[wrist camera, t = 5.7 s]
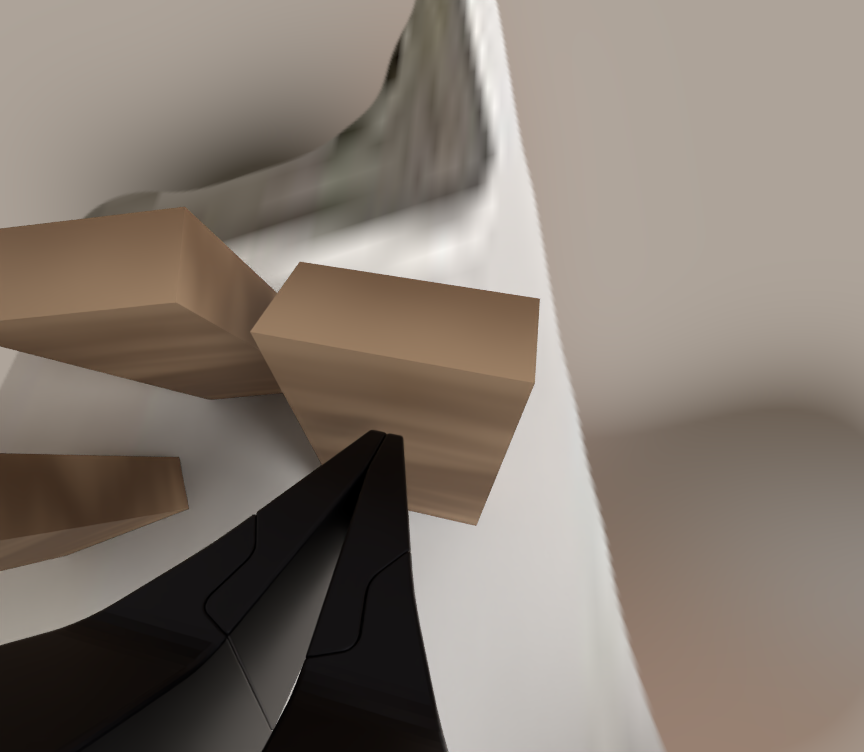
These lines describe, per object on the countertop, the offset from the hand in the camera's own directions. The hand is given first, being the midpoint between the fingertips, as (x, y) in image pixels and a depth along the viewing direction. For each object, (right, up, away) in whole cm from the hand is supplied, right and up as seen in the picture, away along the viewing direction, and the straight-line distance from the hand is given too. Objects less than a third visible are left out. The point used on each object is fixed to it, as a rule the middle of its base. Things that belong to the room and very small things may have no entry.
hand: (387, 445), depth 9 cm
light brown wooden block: (-7, +2, +9) cm, 12 cm away
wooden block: (0, -3, +7) cm, 8 cm away
